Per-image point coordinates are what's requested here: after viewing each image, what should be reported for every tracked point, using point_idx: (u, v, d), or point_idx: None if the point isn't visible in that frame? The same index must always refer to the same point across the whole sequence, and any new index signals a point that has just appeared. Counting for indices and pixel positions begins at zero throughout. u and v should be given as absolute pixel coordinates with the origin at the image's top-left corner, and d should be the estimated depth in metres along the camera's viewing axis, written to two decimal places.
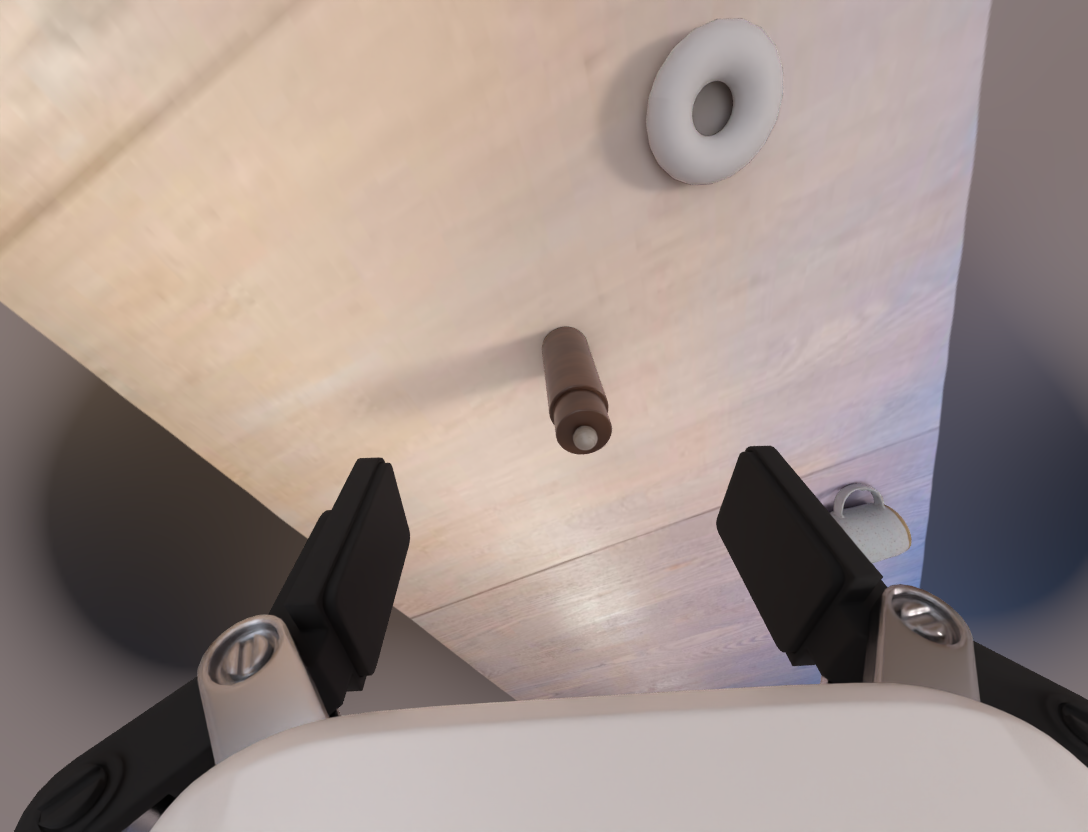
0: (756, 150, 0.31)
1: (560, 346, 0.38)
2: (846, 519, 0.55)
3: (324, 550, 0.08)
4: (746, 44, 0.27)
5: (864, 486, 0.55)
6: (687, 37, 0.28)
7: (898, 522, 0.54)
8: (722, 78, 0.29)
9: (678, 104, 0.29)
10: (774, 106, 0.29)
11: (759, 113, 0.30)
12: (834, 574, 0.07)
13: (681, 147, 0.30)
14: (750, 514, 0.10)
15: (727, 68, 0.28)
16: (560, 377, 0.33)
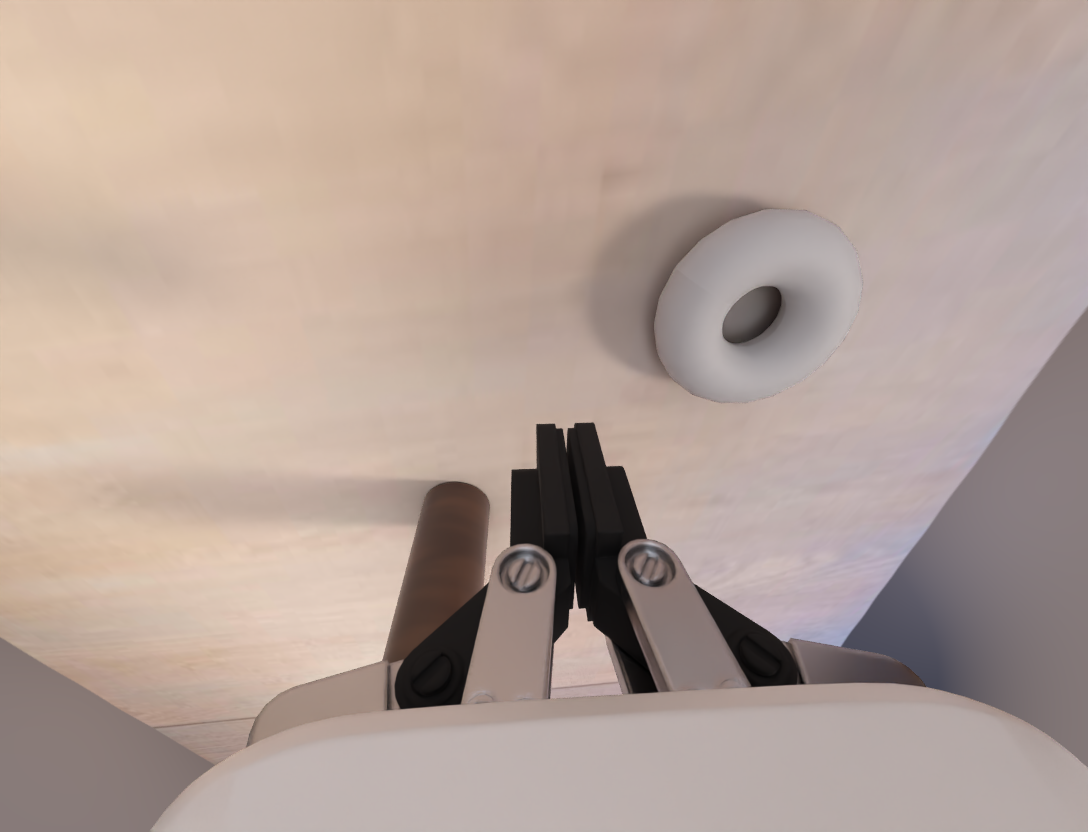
0: (785, 389, 0.22)
1: (443, 532, 0.25)
2: None
3: (553, 494, 0.09)
4: (834, 266, 0.18)
5: None
6: (760, 217, 0.18)
7: None
8: (782, 289, 0.19)
9: (715, 303, 0.19)
10: (830, 352, 0.20)
11: (810, 353, 0.20)
12: (586, 530, 0.08)
13: (696, 354, 0.20)
14: None
15: (795, 283, 0.19)
16: (415, 623, 0.20)
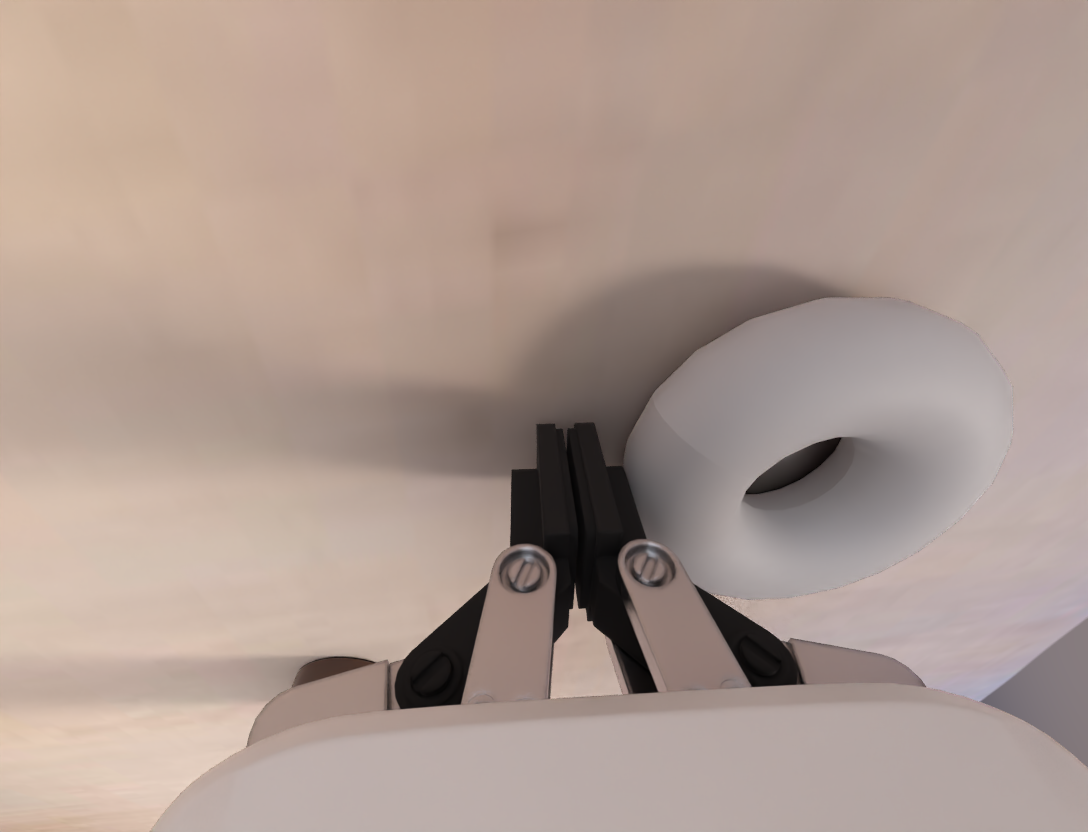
0: None
1: None
2: None
3: (553, 494, 0.09)
4: (971, 417, 0.09)
5: None
6: (820, 322, 0.09)
7: None
8: None
9: (730, 481, 0.09)
10: (938, 536, 0.11)
11: (902, 541, 0.11)
12: (586, 530, 0.08)
13: (696, 553, 0.11)
14: None
15: (886, 438, 0.10)
16: None
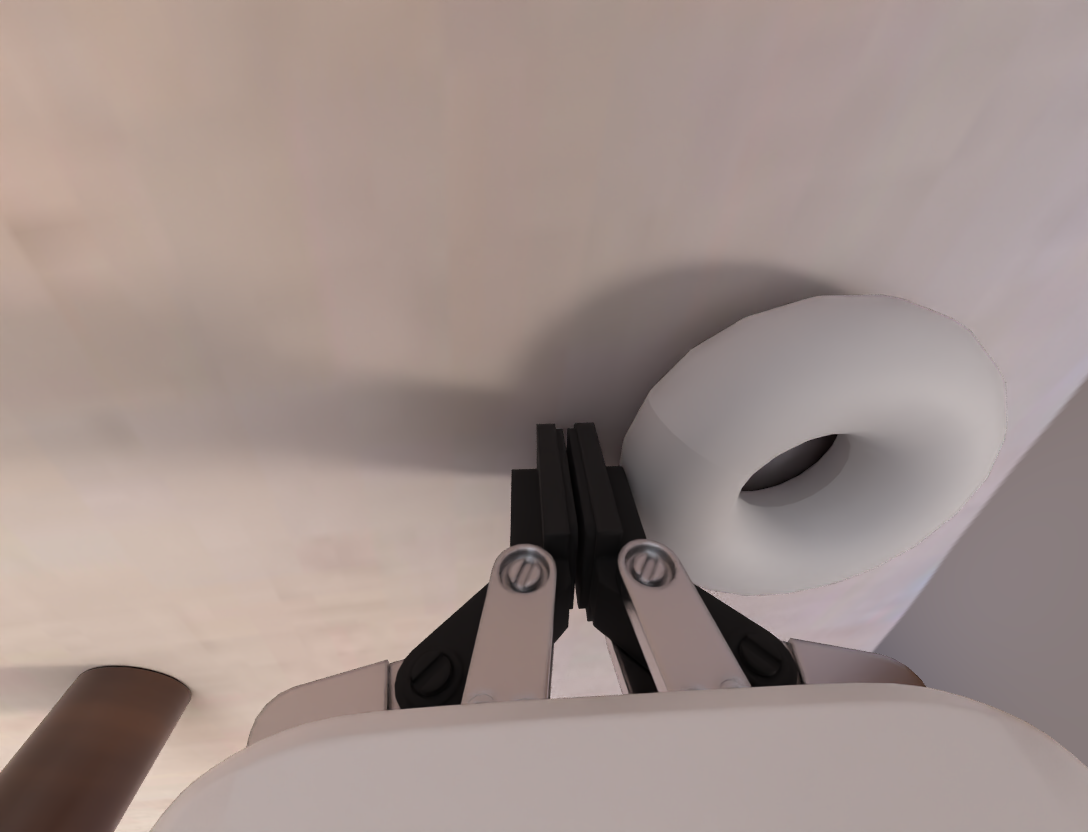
0: None
1: (11, 790, 0.15)
2: None
3: (553, 494, 0.09)
4: (964, 413, 0.09)
5: None
6: (813, 320, 0.09)
7: None
8: (848, 433, 0.10)
9: (725, 478, 0.10)
10: (933, 531, 0.11)
11: (898, 536, 0.11)
12: (586, 530, 0.08)
13: (693, 549, 0.11)
14: None
15: (880, 435, 0.10)
16: None
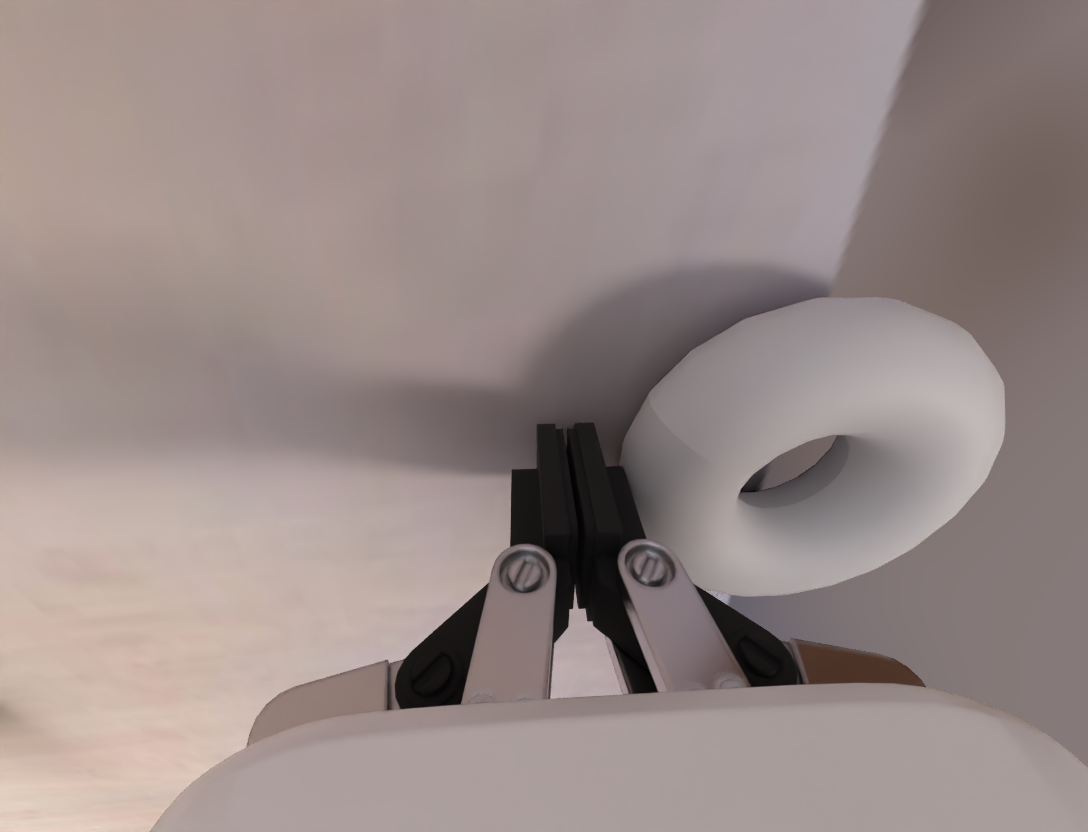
0: None
1: None
2: None
3: (553, 494, 0.09)
4: (963, 415, 0.09)
5: None
6: (813, 322, 0.09)
7: None
8: None
9: (724, 479, 0.10)
10: (931, 533, 0.11)
11: (896, 538, 0.11)
12: (586, 530, 0.08)
13: (692, 550, 0.11)
14: None
15: (879, 436, 0.10)
16: None
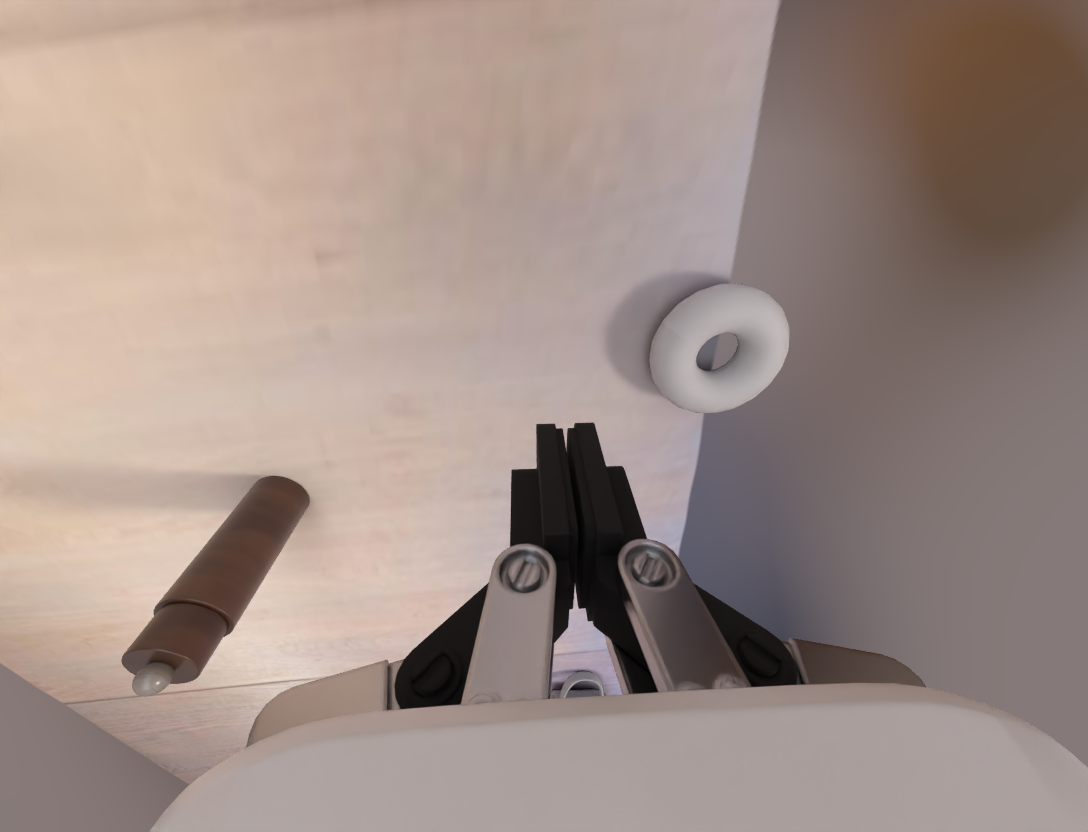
0: None
1: (244, 512, 0.33)
2: None
3: (553, 494, 0.09)
4: (766, 321, 0.27)
5: (591, 678, 0.57)
6: (717, 290, 0.27)
7: None
8: (735, 334, 0.29)
9: (689, 345, 0.28)
10: (771, 376, 0.30)
11: (757, 377, 0.29)
12: (587, 530, 0.08)
13: (678, 379, 0.29)
14: None
15: (743, 332, 0.28)
16: (189, 573, 0.28)
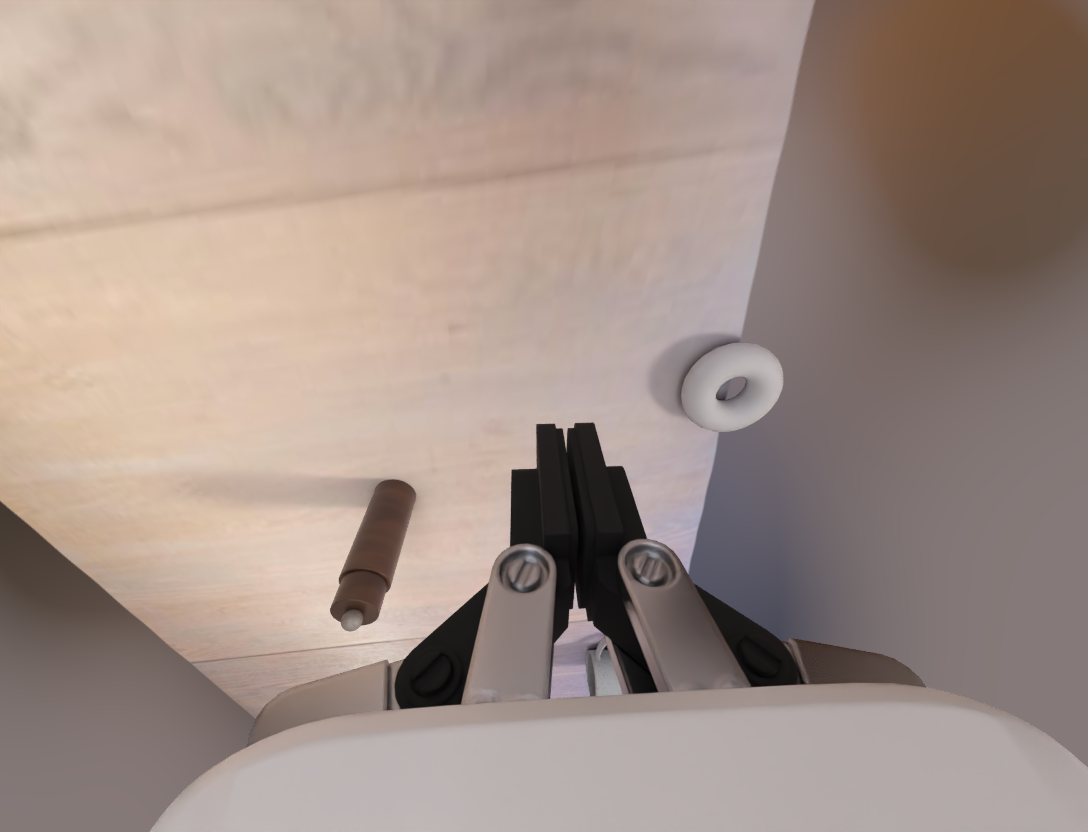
0: (749, 424, 0.42)
1: (381, 507, 0.44)
2: (600, 662, 0.68)
3: (553, 494, 0.09)
4: (767, 370, 0.38)
5: None
6: (732, 349, 0.38)
7: None
8: (744, 377, 0.40)
9: (712, 387, 0.39)
10: (770, 406, 0.41)
11: (760, 407, 0.41)
12: (587, 530, 0.08)
13: (703, 409, 0.40)
14: None
15: (750, 376, 0.39)
16: (359, 551, 0.39)
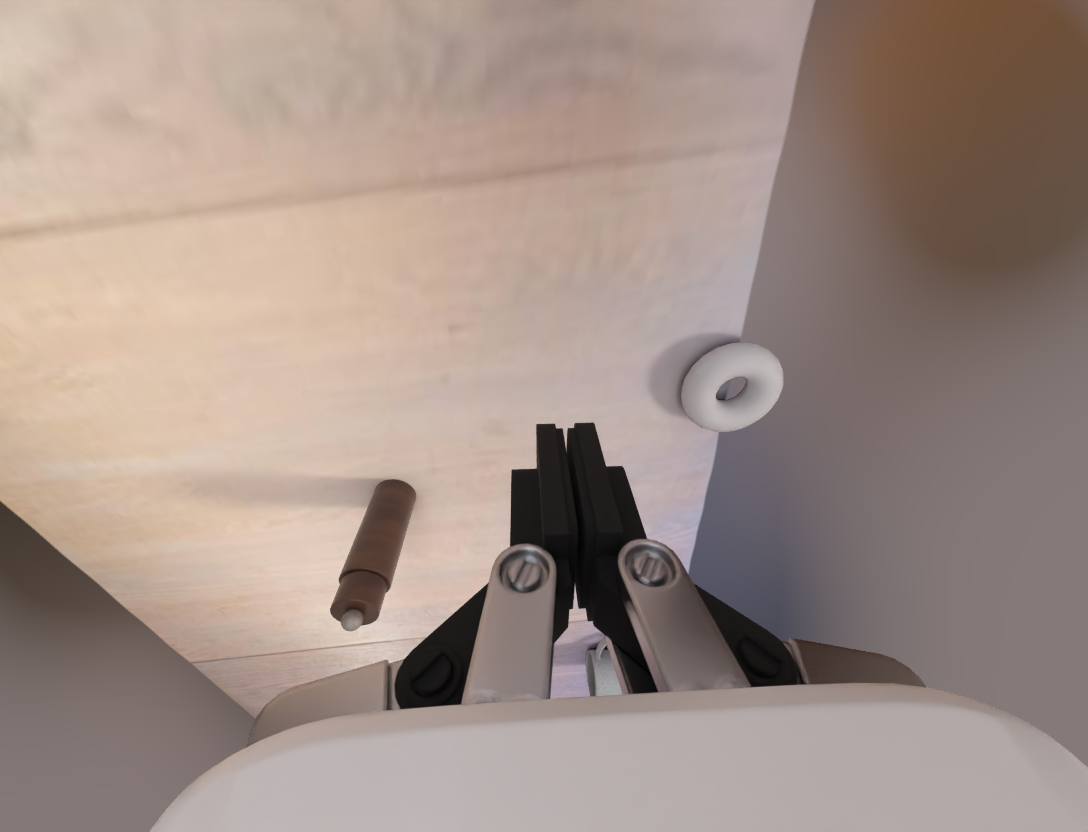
0: (749, 424, 0.42)
1: (381, 507, 0.44)
2: (600, 662, 0.68)
3: (553, 494, 0.09)
4: (766, 370, 0.38)
5: None
6: (732, 349, 0.38)
7: None
8: (744, 377, 0.40)
9: (712, 386, 0.39)
10: (770, 406, 0.41)
11: (760, 407, 0.41)
12: (587, 530, 0.08)
13: (703, 409, 0.40)
14: None
15: (750, 376, 0.39)
16: (359, 551, 0.39)
